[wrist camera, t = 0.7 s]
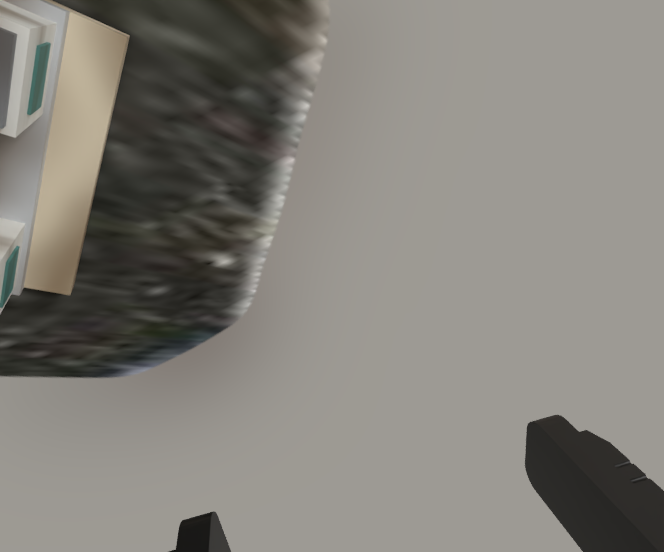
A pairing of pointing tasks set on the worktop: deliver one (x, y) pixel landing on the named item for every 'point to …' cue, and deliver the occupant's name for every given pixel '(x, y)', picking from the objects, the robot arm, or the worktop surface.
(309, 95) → the worktop surface
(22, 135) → the rail board
